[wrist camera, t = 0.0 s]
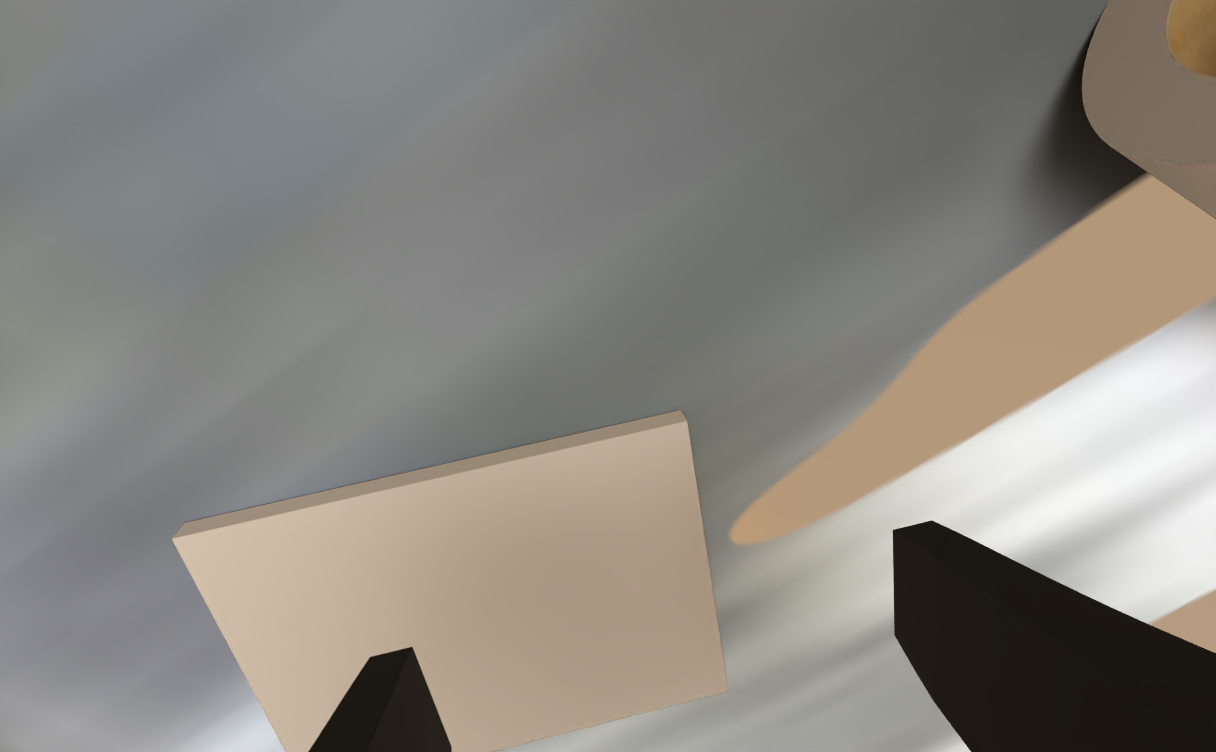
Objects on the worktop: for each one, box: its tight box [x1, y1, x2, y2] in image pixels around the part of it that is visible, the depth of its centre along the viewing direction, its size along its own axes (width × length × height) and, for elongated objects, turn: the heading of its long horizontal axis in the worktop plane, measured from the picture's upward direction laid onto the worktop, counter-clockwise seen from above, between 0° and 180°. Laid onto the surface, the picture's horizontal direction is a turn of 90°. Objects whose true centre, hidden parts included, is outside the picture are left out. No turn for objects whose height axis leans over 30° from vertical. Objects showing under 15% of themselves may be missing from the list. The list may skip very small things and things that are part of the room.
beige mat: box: [172, 410, 728, 752], centre depth 21 cm, size 11×15×1 cm
